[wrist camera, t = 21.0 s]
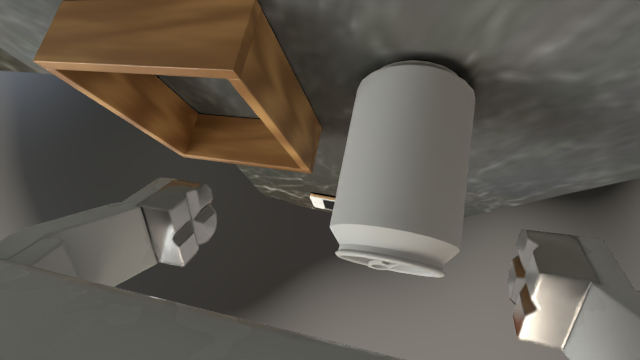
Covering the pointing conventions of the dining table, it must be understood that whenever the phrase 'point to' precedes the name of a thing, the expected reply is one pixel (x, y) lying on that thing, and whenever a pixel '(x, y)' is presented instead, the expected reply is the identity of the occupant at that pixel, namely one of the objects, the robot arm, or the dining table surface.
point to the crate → (186, 60)
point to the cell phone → (322, 201)
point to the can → (405, 169)
